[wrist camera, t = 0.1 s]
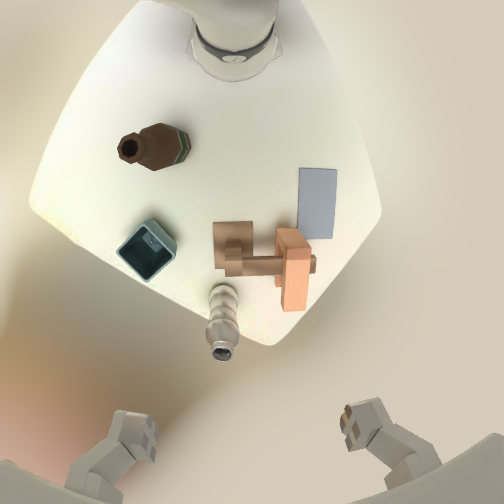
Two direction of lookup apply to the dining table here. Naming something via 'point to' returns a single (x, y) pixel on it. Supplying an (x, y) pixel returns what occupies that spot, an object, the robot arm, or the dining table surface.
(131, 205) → the dining table surface
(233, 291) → the plastic bottle
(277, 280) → the c link
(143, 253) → the flower pot
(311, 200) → the felt mat
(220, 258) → the brown wooden angular piece
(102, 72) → the dining table surface
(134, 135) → the beer bottle
